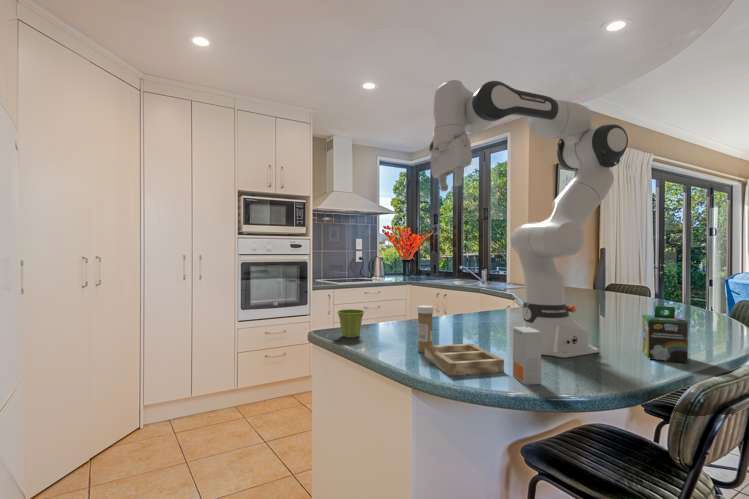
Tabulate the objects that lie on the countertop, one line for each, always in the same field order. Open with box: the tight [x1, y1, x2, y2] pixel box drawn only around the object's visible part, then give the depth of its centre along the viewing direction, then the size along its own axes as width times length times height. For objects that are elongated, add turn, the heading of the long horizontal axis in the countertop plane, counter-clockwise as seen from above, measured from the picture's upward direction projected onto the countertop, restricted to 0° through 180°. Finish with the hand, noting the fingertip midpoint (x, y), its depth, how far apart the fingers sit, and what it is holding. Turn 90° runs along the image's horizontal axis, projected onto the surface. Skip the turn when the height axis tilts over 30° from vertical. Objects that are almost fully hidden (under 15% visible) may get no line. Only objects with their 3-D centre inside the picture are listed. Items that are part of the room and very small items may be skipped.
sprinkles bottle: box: [417, 304, 434, 354], centre depth 116 cm, size 5×5×14 cm
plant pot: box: [336, 308, 366, 339], centre depth 135 cm, size 9×9×9 cm
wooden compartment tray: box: [424, 343, 505, 377], centre depth 104 cm, size 15×17×3 cm
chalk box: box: [641, 305, 689, 364], centre depth 111 cm, size 9×9×15 cm
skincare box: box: [512, 326, 542, 386], centre depth 92 cm, size 6×4×12 cm
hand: (450, 188), depth 112 cm, fingers open, 8 cm apart
